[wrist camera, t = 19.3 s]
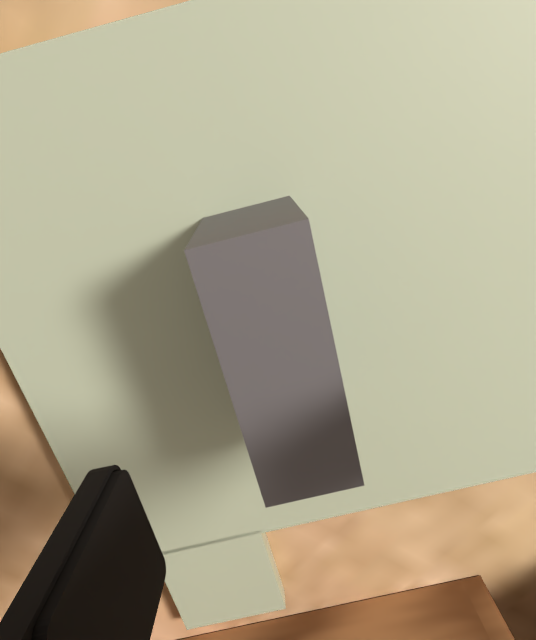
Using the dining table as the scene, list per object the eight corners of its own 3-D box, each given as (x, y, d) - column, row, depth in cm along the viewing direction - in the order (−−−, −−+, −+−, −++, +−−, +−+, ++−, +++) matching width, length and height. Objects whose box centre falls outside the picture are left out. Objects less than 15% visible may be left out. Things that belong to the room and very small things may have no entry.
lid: (519, -81, 14) (709, -236, 8) (539, 534, 23) (636, 663, 17) (-107, 93, 15) (-328, 62, 9) (151, 618, 24) (122, 766, 18)
